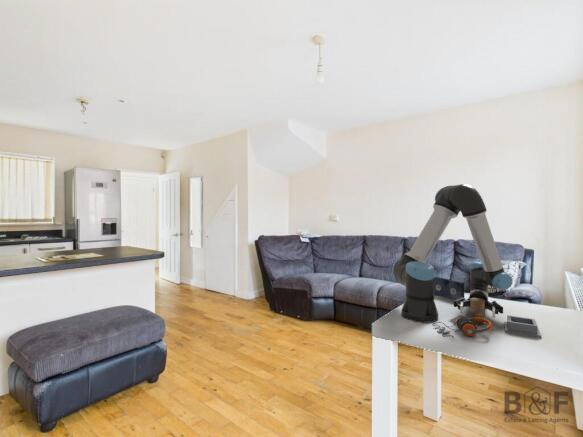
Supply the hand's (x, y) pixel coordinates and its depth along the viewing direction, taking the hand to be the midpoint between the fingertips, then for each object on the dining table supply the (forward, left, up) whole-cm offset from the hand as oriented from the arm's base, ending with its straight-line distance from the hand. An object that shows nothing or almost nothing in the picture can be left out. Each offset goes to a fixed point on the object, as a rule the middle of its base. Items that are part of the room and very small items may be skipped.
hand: (477, 311), depth 130 cm
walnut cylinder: (0, +4, -6) cm, 7 cm away
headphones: (-5, -10, -6) cm, 13 cm away
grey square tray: (+15, +4, -6) cm, 17 cm away
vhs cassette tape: (-15, +41, -6) cm, 44 cm away
